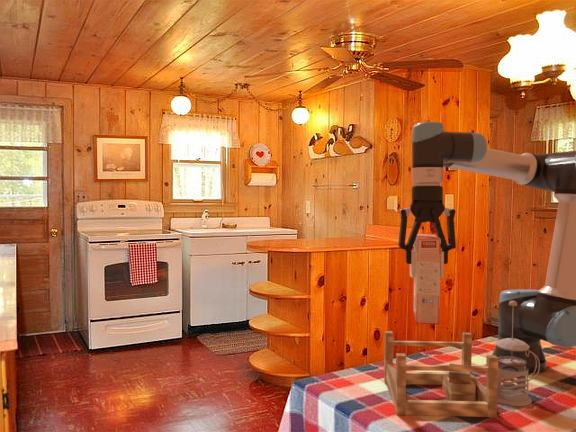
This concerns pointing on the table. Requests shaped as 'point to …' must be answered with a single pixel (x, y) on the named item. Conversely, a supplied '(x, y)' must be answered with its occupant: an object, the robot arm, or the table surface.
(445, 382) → the offcut
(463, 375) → the offcut
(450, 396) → the offcut
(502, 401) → the french press
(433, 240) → the cracker box
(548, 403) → the table surface
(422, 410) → the rack
